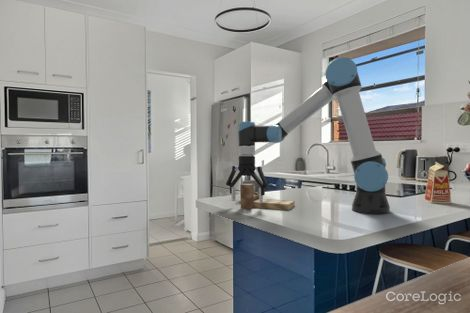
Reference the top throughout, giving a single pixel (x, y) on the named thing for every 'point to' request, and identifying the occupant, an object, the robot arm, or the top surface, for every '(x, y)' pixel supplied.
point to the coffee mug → (256, 186)
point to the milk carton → (438, 185)
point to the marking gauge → (247, 196)
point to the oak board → (274, 204)
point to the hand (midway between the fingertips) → (247, 201)
